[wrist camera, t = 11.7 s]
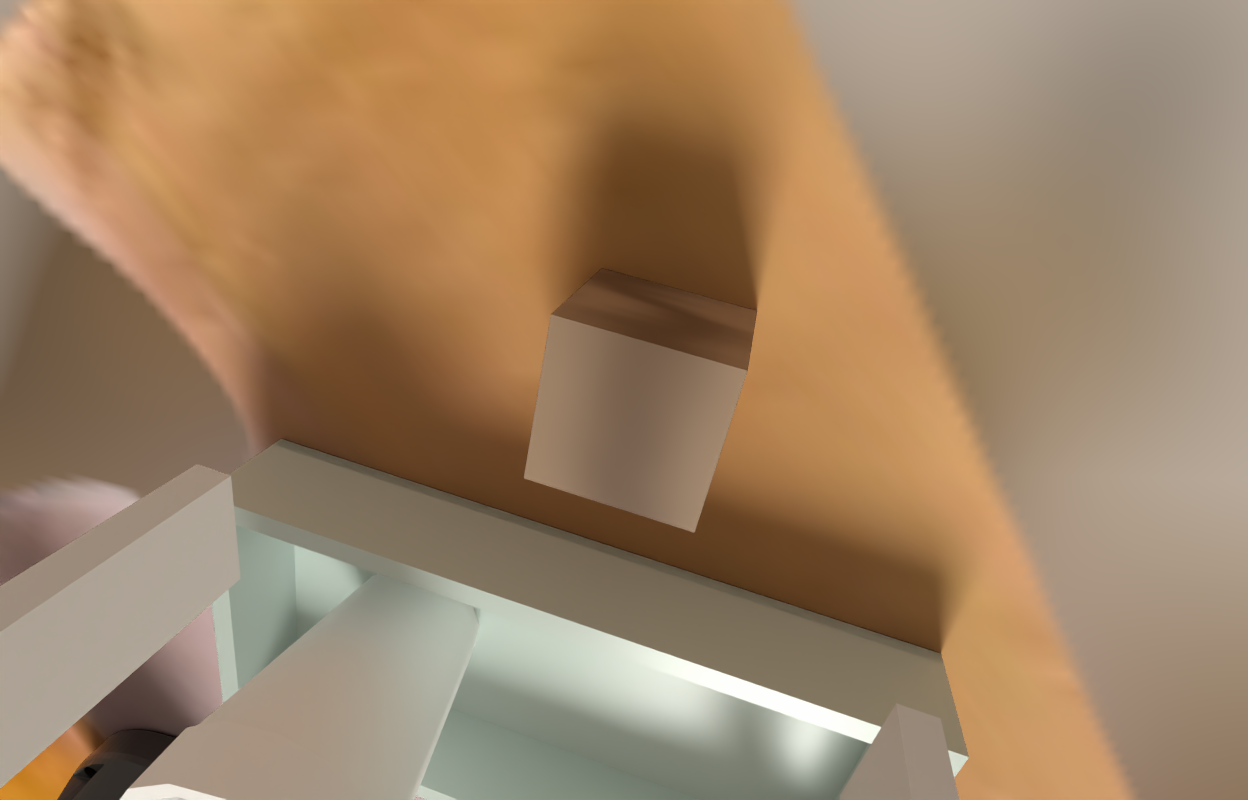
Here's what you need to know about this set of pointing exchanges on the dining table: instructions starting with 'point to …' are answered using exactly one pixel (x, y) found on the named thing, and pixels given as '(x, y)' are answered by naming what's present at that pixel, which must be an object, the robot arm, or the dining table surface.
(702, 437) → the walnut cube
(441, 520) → the tote
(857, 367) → the dining table surface
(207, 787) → the foam cup
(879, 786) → the robot arm
